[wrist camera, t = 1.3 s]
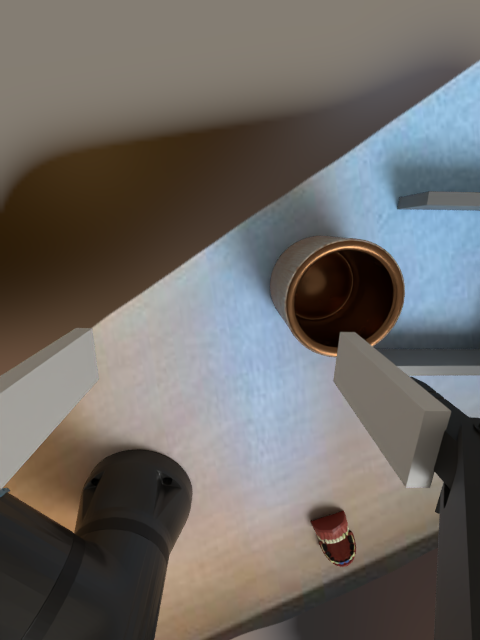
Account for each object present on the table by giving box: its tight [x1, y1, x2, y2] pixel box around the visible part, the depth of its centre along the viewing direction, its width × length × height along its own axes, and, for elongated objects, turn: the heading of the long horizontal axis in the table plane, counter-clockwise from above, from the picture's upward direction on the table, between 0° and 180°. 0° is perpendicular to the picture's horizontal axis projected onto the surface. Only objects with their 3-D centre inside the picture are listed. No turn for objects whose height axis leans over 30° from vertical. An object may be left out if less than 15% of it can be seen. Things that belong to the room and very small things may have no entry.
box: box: [376, 191, 480, 376], centre depth 33 cm, size 16×19×5 cm
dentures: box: [311, 511, 356, 567], centre depth 44 cm, size 6×4×8 cm
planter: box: [270, 236, 405, 357], centre depth 30 cm, size 11×11×10 cm
